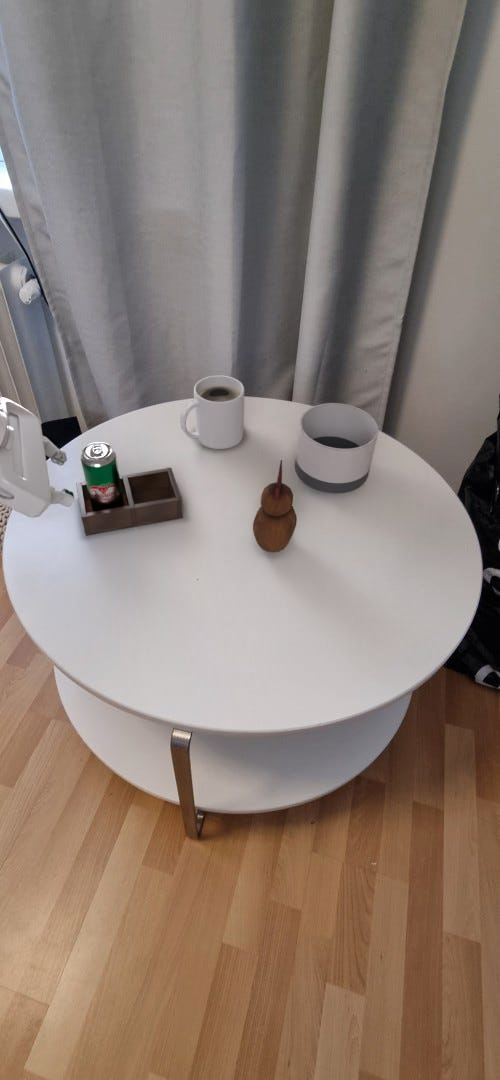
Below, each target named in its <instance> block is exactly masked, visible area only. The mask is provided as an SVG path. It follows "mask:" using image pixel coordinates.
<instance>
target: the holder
mask: <svg viewBox="0 0 500 1080" xmlns="http://www.w3.org/2000/svg"><path fill="white" fill-rule="evenodd" d="M119 476H120V482H121V488H122V494H123V500H124V507H118V508H113V509H107V510H101V511H95V512H93V511H92V507H91V502H90V498H89V494H88V489H87V485H86V481H82V482H76V484H75V485H76V492H77V498H78V504H79V506H78V507H79V512H80V518H81V522H82V527H83V531H84V535H85V537H89V536H94V535H98V534H104V533H109V532H110V533H111V532H116V531H121V530H126V529H133V528H137V527H143V526H148V525H153V524H159V523H164V522H170V521H176V520H180V519H184V513H183V511H184V510H183V499H182V496H181V493H180V490H179V487H178V484H177V480H176V477H175V474H174V472H173V468H172V467H166V468H159V469H153V470H146V471H141V472H135V473H129V474H123V475H119Z"/></svg>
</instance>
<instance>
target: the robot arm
mask: <svg viewBox="0 0 500 1080" xmlns="http://www.w3.org/2000/svg"><path fill="white" fill-rule="evenodd" d="M46 456H47V457H48V458H49V459H50V462H51V463H53V464H56V465H57V466H60V467H62V466H64V465H65V463H66V462H67V461H68V457H67V453H66V451H64V450H62V449H60V448H59V447H57V445H55V444H54V443H53V442H52V441H51V440H50V439H49V438H48V437H47V436H44V435H43V429H42V422H41V420H40V419H39V418H38V417H37V416H36V414H34V413H33V412H31V411H30V410H29V409H27V408H25V407H24V406H22V405H20V404H18V403H16V402H15V401H14V400H11V399H9V398H7V397H2V396H1V394H0V504H2V505H4V506H6V507H8V508H9V509H11V510H14V511H16V512H17V513H19V514H22V515H24V516H26V517H28V518H32V519H34V518H40V516H42V515H43V514H44V513H45V511H47V509H49V507H50V506H51V505H58V504H59V505H62V506H64V507H66V508H69V507H71V506H72V505H73V504H74V503H75V500H76V499H75V495H74V492H73V491H70V490H69V489H67V488H63V489H62V490H56V488H55V487H54V486H51V484H50V477H49V471H48V464H47V463H48V462H47V457H46Z"/></svg>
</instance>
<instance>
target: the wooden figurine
mask: <svg viewBox="0 0 500 1080" xmlns="http://www.w3.org/2000/svg"><path fill="white" fill-rule="evenodd" d="M276 479H277V480H276V482H271V483H269V484H267V485H266V486H265V487H264V488H263V490H262V492H261V495H260V507H258V510H257V511H256V513H255V516H254V519H253V523H252V532H253V535H254V539H255V541H256V544H257V545H258V546H259V547H260V548H261V549H262V550H263V551H265V552H268V553H278V552H281V551H282V550H284V549H285V548H286V547H287V546H288V544H289V543H290V541H291V539H292V537H293V535H294V532H295V529H296V527H297V522H298V520H297V519H298V518H297V513H296V510H295V508H294V506H293V503H294V494H293V491H292V488H291V487H290V486H288V485H287V484H285V483H283V460H282V459H281V460H280V463H279V468H278V474H277V478H276Z"/></svg>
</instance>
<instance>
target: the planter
mask: <svg viewBox="0 0 500 1080" xmlns="http://www.w3.org/2000/svg"><path fill="white" fill-rule="evenodd" d="M379 431H380V430H379V424H378V423H377V421H376V420H375V418H374V416H372V415H371V414H370V413H368V412H366V410H363V409H362V408H359V407H357V406H353V405H351V404H348V403H341V402H339V403H338V402H326V403H320V404H316V405H314V406H312V407H310V408H308V409H307V410H305V411H304V412H303V413H302V415H301V417H300V419H299V424H298V434H297V443H296V450H295V460H294V470H295V474H296V475H297V477H298V478H299V479H300V481H301V482H302V483H304V485H307V486H308V487H310V488H312V489H314V490H316V491H319V492H323V493H328V494H345V493H350V492H353V491H355V490H357V489H359V488H361V487H362V486H363V485H364V484H365V483H366V481H368V477H369V475H370V470H371V465H372V462H373V461H372V460H373V457H374V453H375V448H376V444H377V441H378V436H379Z"/></svg>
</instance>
